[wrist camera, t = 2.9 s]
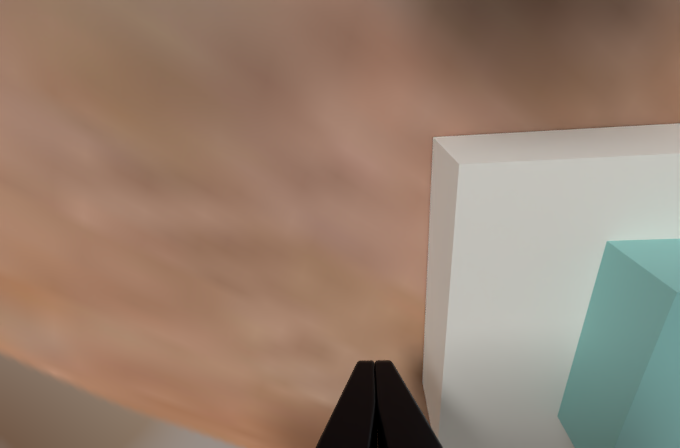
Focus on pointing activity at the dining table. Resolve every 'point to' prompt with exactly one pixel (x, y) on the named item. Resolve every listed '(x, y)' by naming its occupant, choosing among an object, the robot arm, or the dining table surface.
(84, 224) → the dining table surface
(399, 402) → the robot arm
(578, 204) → the block
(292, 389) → the dining table surface
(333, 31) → the dining table surface
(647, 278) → the teal rectangular block
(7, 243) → the dining table surface
